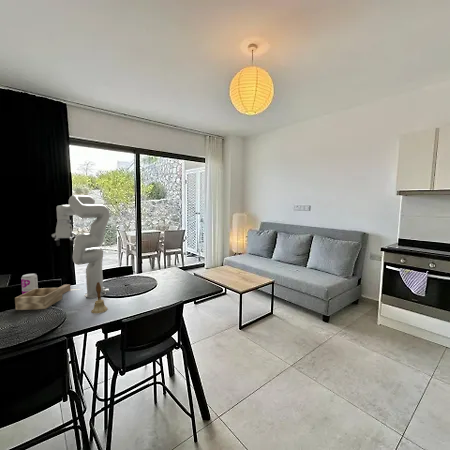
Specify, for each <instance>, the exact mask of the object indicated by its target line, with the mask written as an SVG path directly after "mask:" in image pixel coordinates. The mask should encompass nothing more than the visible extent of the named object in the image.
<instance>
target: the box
mask: <svg viewBox="0 0 450 450" xmlns="http://www.w3.org/2000/svg"><path fill="white" fill-rule="evenodd" d="M61 300H63V294H62V288H58V287H43V288H42V287H41V288H39V287H38V288H37V289H33V290H31V291H29V292H26V293H24V294H20V295H18V296H16V297H14V304H15V305H14V306H15V311H24V310H26V311H27V310H46V309H48V308H49V307H51V306H53V305H54V304H56V303H57V302H59V301H61Z"/></svg>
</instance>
